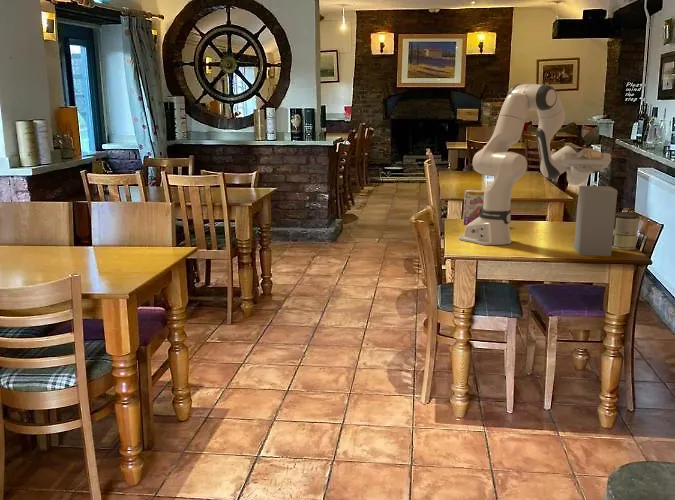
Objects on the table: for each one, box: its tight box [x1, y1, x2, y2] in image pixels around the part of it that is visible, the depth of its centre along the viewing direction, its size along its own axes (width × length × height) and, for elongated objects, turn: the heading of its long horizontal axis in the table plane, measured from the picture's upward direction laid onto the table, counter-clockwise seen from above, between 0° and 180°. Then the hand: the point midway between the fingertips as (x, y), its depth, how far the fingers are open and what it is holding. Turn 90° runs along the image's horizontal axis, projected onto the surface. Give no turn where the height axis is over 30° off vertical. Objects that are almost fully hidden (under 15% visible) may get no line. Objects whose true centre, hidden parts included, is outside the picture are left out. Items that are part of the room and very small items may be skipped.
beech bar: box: [582, 147, 602, 160], centre depth 280 cm, size 19×4×3 cm, turn 171°
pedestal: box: [573, 185, 618, 257], centre depth 268 cm, size 12×12×26 cm
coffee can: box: [612, 211, 640, 251], centre depth 278 cm, size 10×10×14 cm
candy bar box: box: [462, 189, 485, 226], centre depth 325 cm, size 11×5×16 cm, turn 84°
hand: (589, 151), depth 284 cm, fingers closed on beech bar, 3 cm apart
